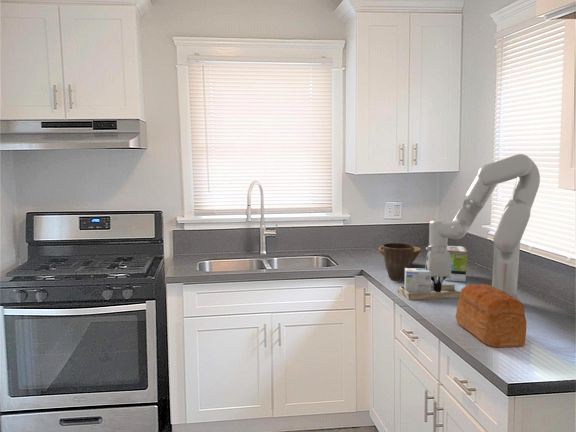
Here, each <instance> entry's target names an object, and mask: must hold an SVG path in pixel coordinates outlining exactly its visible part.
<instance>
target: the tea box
mask: <svg viewBox="0 0 576 432" xmlns="http://www.w3.org/2000/svg"><path fill="white" fill-rule="evenodd" d="M447 252H449V254H450V260H451V275H450V277H449V278H445V279H444V281H446V282H447V281H450V282H466V280H467V264H468V250H467V249H466V247H465V246H459V245H458V246H457V245H447Z"/></svg>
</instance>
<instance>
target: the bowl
mask: <svg viewBox="0 0 576 432" xmlns="http://www.w3.org/2000/svg"><path fill="white" fill-rule="evenodd" d="M378 250H379V253H380V254H381V255H382V257H384V254H383V245H381V246H379V247H378ZM420 252H421V248H420V247H418V246H414V253H413V257H412V261H411V264H412V263H413V262H414V261H415V260H416V259H417V257H418V256H419V254H420Z"/></svg>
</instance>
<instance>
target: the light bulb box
mask: <svg viewBox="0 0 576 432" xmlns="http://www.w3.org/2000/svg"><path fill="white" fill-rule="evenodd" d="M431 285H432V280H431V271H428V270H427V269H425V268H419V267H417V268H416V267H414V268H412V267H410V268H405V279H404V285H403V286H404V290H406V291H407V292H409V293H431Z"/></svg>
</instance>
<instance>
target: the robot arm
mask: <svg viewBox="0 0 576 432" xmlns="http://www.w3.org/2000/svg"><path fill="white" fill-rule="evenodd" d="M540 177H541V175H540V171H539V167H538V166H537V164H536V163H535V162H534V160H532V158H531V157H529V156H528V155H526V154H524V153H518V154H514V155H511V156H509V157H506V158H504V159H500V160H497V161H494V162H490V163H486V164H484V165H482V166H480V168H479V169H478V172H477V175H476V177H475V178H474V180H473V182H471V184H470V187H469V188H468V189H467V192H466V193H465V195H464V198H463V202H462V204H461V206H460V208H459V210H458V211H457V213H456V215H455V217H454V218H453V220H452V221H447V220H445V219H433V220H430V221H429V227H428V228H429V230H428V231H429V232H428V234H429V236H428V246H426V247H425V249H426V251H427V253H426V257H425V266H424V269H427V270H428V271H431V282H433V289H434V291H435V292H441V287H442V285H443V282H444V281H445V280H444V279H445V278H449V277H450V275H451V260H450V254H449V252H447V246H448V242H449V241H448V239H452V240H459V239H462V238H464V237H465V235H466V234H467V233H468V231H469V230H470V227H471V226H472V225H473V223H474V222H475V219H476V218H477V217H478V215H479V213H480V212H481V211H482V209H483V208H484V207H485V205H486V203H487V202H488V200H489V199H490V197H491V195H492V193H493V192H494V190H495V188H496V187H497V186H498V184H502V183H506V182H509V181H512V180H514V179H516V180H515V184H514V186H513V189H512V194H511V196H510V198H509V200H508V202H507V204H506V205H505V207H504V209H503V211H502V214H501V217H500V219H499V222H498V225H497V228H496V229H495V230H496V231H495V232H494V235H493V259H492V260H493V263H492V275H491V276H492V278H491V280H492V281H491V286H493V287H495V288H496V289H499V290H501V291H504V292H506V293H507V294H509V295H510V296H512V297H513V298H515V299H517V300H518V301H520V302H521V300H520V298H518V279H519V266H520V263H519V261H520V248H521V240H522V239H523V235H524V233H525V230H526V228H527V226H528V223H529V220H530V217H531V210H532V207H533V205H534V203H535V202H534V201H535V199H536V196H537V193H538V190H539V188H540V183H541V178H540Z"/></svg>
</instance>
